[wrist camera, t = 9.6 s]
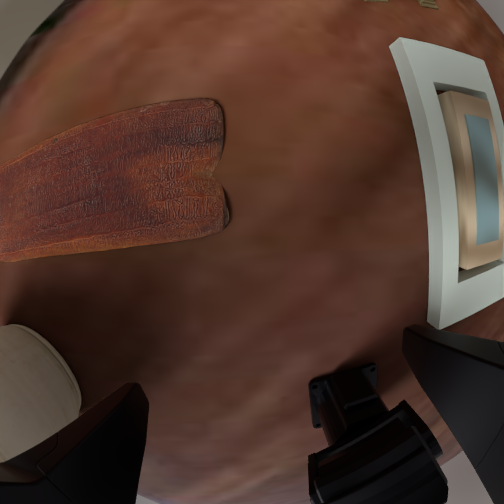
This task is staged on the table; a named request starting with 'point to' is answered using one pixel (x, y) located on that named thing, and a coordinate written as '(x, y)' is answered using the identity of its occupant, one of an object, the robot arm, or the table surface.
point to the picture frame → (475, 177)
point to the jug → (32, 391)
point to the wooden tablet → (116, 183)
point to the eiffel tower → (424, 1)
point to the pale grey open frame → (447, 174)
